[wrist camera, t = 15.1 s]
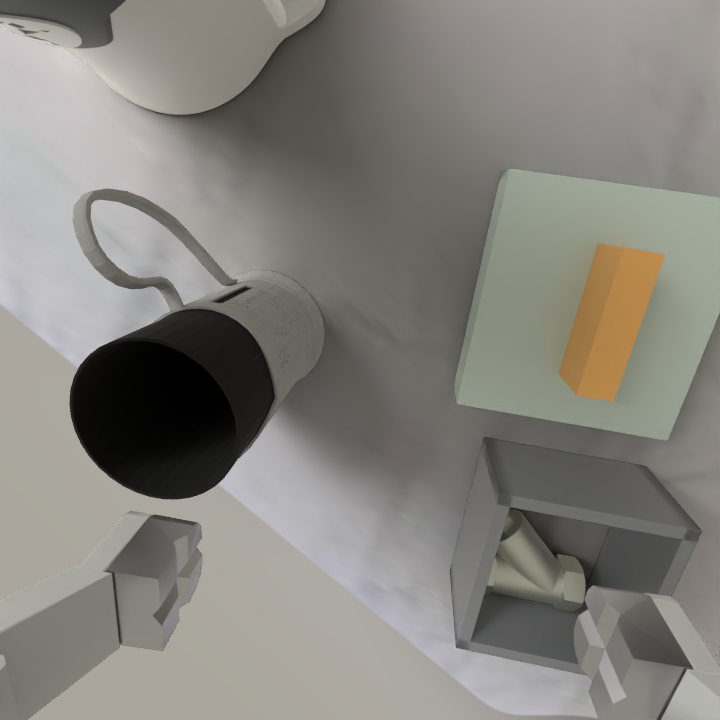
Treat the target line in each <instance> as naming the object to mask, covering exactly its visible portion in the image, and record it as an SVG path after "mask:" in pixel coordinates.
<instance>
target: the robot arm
mask: <svg viewBox="0 0 720 720" xmlns="http://www.w3.org/2000/svg"><path fill="white" fill-rule="evenodd" d="M325 2H326V0H0V27H1V28H4V29H6V30H9V31H11V32H14V33H16V34H19V35H21V36H24V37H26V38H29V39H32V40H35V41H38V42H41V43H44V44H47V45H51V46H55V47H61V48H64V49H65V50H67V51H68V52H70V53H71V54H73V55H74V56H76V57H77V58H78V59H80V60H81V61H83V62H84V63H85V64H87V65H88V66H89V67H90V68H91V69H93V70H94V71H95V72H96V74H97V75H98V76H99V77H100V78H101V79H102V80H103V81H104V82H105V83H106V84H107V85H108V86H110V87H111V88H112V89H113V90H114V91H116V92H117V93H119V94H120V95H121V96H123V97H124V98H126V99H128V100H129V101H131V102H133V103H135V104H137V105H139V106H141V107H144V108H146V109H149V110H152V111H156V112H160V113H166V114H175V115H185V114H194V113H200V112H204V111H207V110H210V109H213V108H216V107H218V106H220V105H222V104H224V103H226V102H228V101H229V100H231V99H232V98H234V97H235V96H237V95H238V94H239V93H240V92H242V91H243V90H244V89H245V88H246V87H247V86H248V85H249V84H250V83H251V82H252V81H253V80H254V79H255V77H256V76H257V75H258V74H259V72H260V71H261V70H262V68H263V67H264V65H265V64H266V62H267V61H268V59H269V58H270V56H271V55H272V53H273V52H274V50H275V49H276V48H277V47H278V45H279V44H280V43H281V42H282V41H283V40H284V39H285V38H287V37H288V36H290V35H292V34H293V33H295V32H296V31H298V30H300V29H301V28H303V27H304V26H306V25H307V24H309V23H310V22H311V21H312V20H314V19H315V18H316V17H317V16H318V15H319V14H320V12H321V11H322V9H323V7H324V5H325ZM201 538H202V531H201V525H200V524H199V523H197V522H191V521H187V520H181V519H176V518H171V517H165V516H159V515H151V514H146V513H140V512H135V511H130V512H128V513H126V514H124V515H123V516H122V518H121V519H120V520H119V521H118V522H117V523H116V524H115V525H114V527H113V528H112V529H111V530H110V531H109V532H108V533H107V534H106V536H105V537H104V538H103V539H102V540H101V541H100V542H99V544H98V545H97V546H96V547H95V548H94V549H93V550H92V551H91V553H90V554H89V555H88V556H87V557H86V558H85V559H84V560H83V562H82V563H81V564H80V565H79V566H78V567H73V566H70V567H68V568H65V569H63V570H61V571H59V572H57V573H55V574H53V575H51V576H49V577H47V578H45V579H42V580H40V581H38V582H36V583H35V584H32V585H30V586H28V587H26V588H24V589H22V590H20V591H18V592H16V593H13V594H11V595H9V596H7V597H5V598H3V599H1V600H0V720H28V719H29V718H30V717H32V716H33V715H34V714H35V713H37V712H38V711H39V710H41V709H42V708H43V707H44V706H46V705H47V704H48V703H49V702H51V701H52V700H53V699H55V698H56V697H57V696H59V695H60V694H61V693H62V692H64V691H65V690H66V689H68V688H69V687H70V686H71V685H73V684H74V683H75V682H76V681H78V680H79V679H80V678H82V677H83V676H84V675H85V674H87V673H88V672H89V671H91V670H92V669H93V668H94V667H96V666H97V665H98V664H100V663H101V662H102V661H103V660H105V659H106V658H107V657H109V655H111V654H112V653H114V652H115V651H116V650H118V649H119V648H120V645H124V646H131V647H138V648H145V649H152V650H159V651H163V650H164V648H165V647H166V645H167V643H168V641H169V639H170V637H171V635H172V634H173V632H174V630H175V628H176V626H177V624H178V622H179V608H181V607H182V606H184V605H185V604H187V603H188V602H190V600H191V598H192V596H193V594H194V592H195V590H196V587H197V584H198V581H199V578H200V575H201V569H202V554H201V552H200V551H199V550H198V548H197V545H198V543H199V542H200V540H201ZM584 600H585V602H586V605H587V607H588V610H586V611H585V612H583V613H582V614H580V615H579V616H578V618H577V621H576V624H575V627H574V647H575V653H576V657H577V660H578V663H579V665H580V668H581V669H582V670H583V671H584V672H585V673H586V674H587V675H588V676H589V678H590V679H591V680H592V684H591V686H590V689H589V694H590V696H591V699H592V702H593V705H594V707H595V710H596V713H597V715H598V718H599V720H720V665H719V664H718V662H717V661H716V659H715V658H714V656H713V655H712V653H711V652H710V650H709V649H708V647H707V646H706V644H705V643H704V641H703V640H702V638H701V636H700V635H699V633H698V632H697V630H696V629H695V627H694V626H693V624H692V623H691V621H690V620H689V618H688V617H687V615H686V614H685V612H684V611H683V609H682V608H681V606H680V605H679V603H678V602H677V601H676V600H675V599H673V598H672V597H670V596H663V595H656V594H649V593H641V592H634V591H627V590H621V589H614V588H607V587H601V586H594V585H593V586H592V587H591V588H589V589H588V591H587V594H586V596H585V599H584Z"/></svg>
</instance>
